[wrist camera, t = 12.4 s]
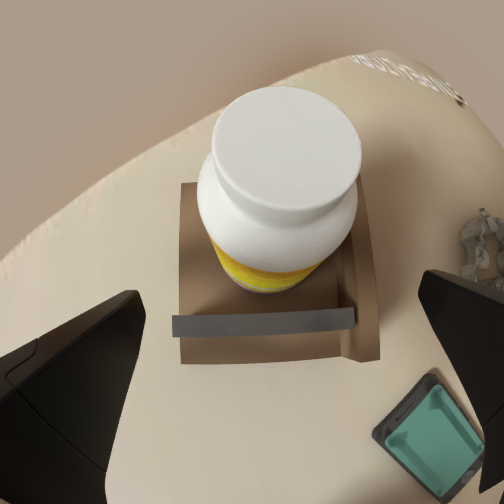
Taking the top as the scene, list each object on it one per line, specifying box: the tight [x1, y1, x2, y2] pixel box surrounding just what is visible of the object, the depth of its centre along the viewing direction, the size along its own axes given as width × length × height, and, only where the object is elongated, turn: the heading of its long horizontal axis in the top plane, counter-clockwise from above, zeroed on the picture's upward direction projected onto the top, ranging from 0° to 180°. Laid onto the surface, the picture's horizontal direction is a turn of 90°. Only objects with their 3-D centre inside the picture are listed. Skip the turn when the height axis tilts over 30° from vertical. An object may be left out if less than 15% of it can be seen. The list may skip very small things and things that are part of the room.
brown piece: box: [179, 174, 380, 364], centre depth 20 cm, size 13×12×6 cm
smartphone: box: [372, 374, 485, 504], centre depth 19 cm, size 7×1×15 cm
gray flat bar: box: [172, 307, 355, 337], centre depth 18 cm, size 1×10×4 cm, turn 92°
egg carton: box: [459, 208, 504, 291], centre depth 21 cm, size 11×8×4 cm
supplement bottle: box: [197, 86, 362, 294], centre depth 15 cm, size 7×7×13 cm
